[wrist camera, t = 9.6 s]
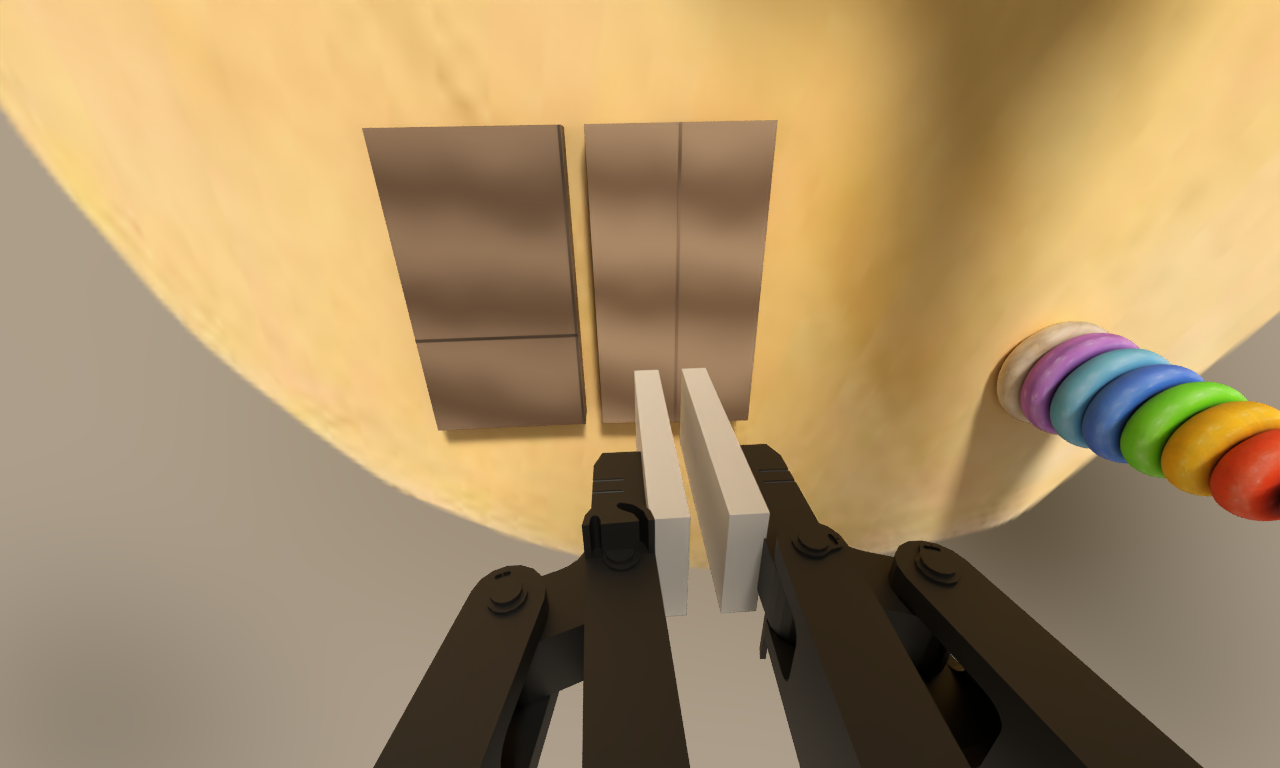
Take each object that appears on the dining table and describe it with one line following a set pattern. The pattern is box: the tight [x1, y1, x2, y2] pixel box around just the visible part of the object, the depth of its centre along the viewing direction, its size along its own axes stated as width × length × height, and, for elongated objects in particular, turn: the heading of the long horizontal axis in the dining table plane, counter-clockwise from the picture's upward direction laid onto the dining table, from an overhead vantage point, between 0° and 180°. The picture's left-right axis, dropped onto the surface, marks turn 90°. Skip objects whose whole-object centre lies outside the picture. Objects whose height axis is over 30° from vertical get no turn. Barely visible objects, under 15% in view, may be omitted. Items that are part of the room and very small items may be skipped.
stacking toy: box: [997, 321, 1280, 521], centre depth 26 cm, size 8×8×19 cm
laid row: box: [362, 125, 587, 430], centre depth 28 cm, size 18×10×2 cm, turn 2°
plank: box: [584, 120, 777, 423], centre depth 28 cm, size 18×10×2 cm, turn 2°
